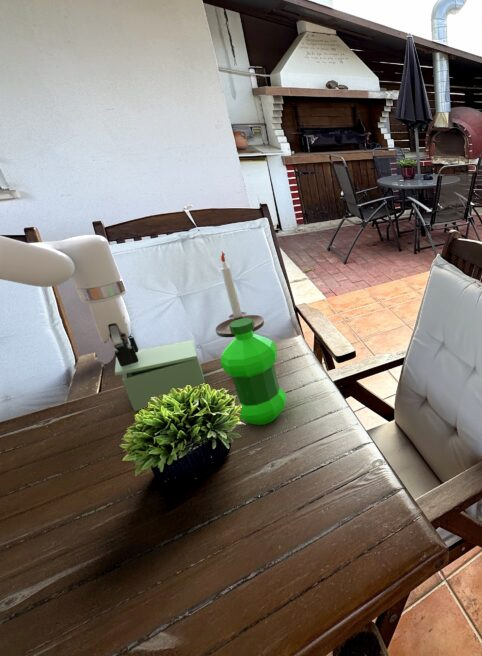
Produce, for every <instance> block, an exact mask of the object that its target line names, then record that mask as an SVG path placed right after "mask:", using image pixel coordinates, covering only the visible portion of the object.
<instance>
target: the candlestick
mask: <svg viewBox="0 0 482 656" xmlns="http://www.w3.org/2000/svg"><path fill="white" fill-rule="evenodd" d="M225 255H226V254H225V253H224V251H221V256H220V260H221V262H222V267H221V268H220V270H221V274H222V278H223V281H224V282H223V283H224V286H225V289H226V294H227V297H228V301H229V304H230V308H231V312H232V313H231V314H230V315H229V316H228V318H229V319H227V320H224V321H223V322H221V323H219V324H218V325H217V326H216V327H215V334H216V335H217V336H218V337H220V338H236V337H235V335H234V334H232V333H231V331H230V327H229V325H230V323H231V322H233V321H235V320H238V319H242V318H250V319H253V323H254V329H253V330H252V331H253V333H254V332H257V331H258V330H260V329H261V328H262V327H263V326H264V325H265V321H264V317H263V316H261V315H256V314H247V312H245V311H242V310H241V305H240V302H239V298H238V293H237V291H236V286H235V282H234V278H233V274H232V270H231V267H230V266H228V265H227V262H226V257H225Z"/></svg>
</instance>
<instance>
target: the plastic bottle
mask: <svg viewBox="0 0 482 656" xmlns="http://www.w3.org/2000/svg"><path fill="white" fill-rule="evenodd" d="M229 327H230V331H231V333H232V334H234V335H235V337H234V339H233V340H232V341H230V343H229V344H228V345H227V346H226V347H225V348H224V350H223V352H222V354H221V356H220V362H219V363H220V365H221V368H222V370H223V371H224V373H226V374H228V375H229V376H231V377H232V379H233V383H234V387H235V390H236V395H237V397H238V404H237V406H238V405H239V404H241V405H242V410H241V415H240V417H239V418H240V419H241V420H242V421H244V422H246V423H247V424H250V425H256V426H261V425H266V424H269V423H271V422H273V421H274V420H276V419H277V418H278V416H279V415H280V414H281V413H282V412H283V411H284V410H285V407H286V402H287V394H286V392H285V391H284V390H283V388H281V387H280V386H279V381H278V376H277V373H276V368H275V363H276V361H277V357H278V349H277V345H276V343H275V342H274V341H273V340H272V339H269V338H267V337H265V336H262V335H259V334H256V333H254V332H253V331H252V330H253V329H254V323H253V319H250V318H242V319H238V320H235V321H233V322H231V323H230V325H229Z"/></svg>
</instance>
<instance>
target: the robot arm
mask: <svg viewBox="0 0 482 656" xmlns="http://www.w3.org/2000/svg"><path fill="white" fill-rule="evenodd" d="M70 279H71V280H72V283H73V285H74V287H75V290H76V292H77V295H78V296H79V299H80V302H81V303H85V304H87V303H88V308H89V311H90V313H91V317H92V320H93V322H94V325H95V329H96V331H97V333H98V336H99V340H100V342H101V343H103V344H106V343H107V342H109V341H110V342H111V344H112V347H113V351H114V354H115V358H116V357H117V359H118V362H119V364H120V366H126V365H130V364H133V363H137V362H138V358H137V355H136V352H138V350H139V348H138V345H137V343H136V340H135V337H133V334H132V322H131V318H130V316H129V315H130V314H129V312H128V309H127V307H126V304H125V301H124V298H123V295H125V294H126V293H127V292H128V290H127V288H126V285H125V283H124V280H123V277H122V275H121V272H120V270H119V267H118V265H117V262H116V258H115V256H114V254H113V251H112V248H111V245H110V243H109V241H108V240H107V238H106V237H105V236H103V235H98V234H86V235H77V236H73V237H69V238H66V239H63V240H51V241H41V242H38V241H37V242H25V241H21V240H17V239H14V238H10V237H7V236H3V235H0V280H3V281H7V282H12V283H18V284H22V285H28V286H33V287H38V288H49V287H55V286H59V285H62V284H64V283H66V282H67V281H69V280H70ZM122 340H125V341H126V343H125V342H123V341H122ZM129 340H130V341H131V344H130V341H129Z"/></svg>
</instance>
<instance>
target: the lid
mask: <svg viewBox="0 0 482 656" xmlns="http://www.w3.org/2000/svg"><path fill="white" fill-rule="evenodd" d="M122 341H123V342H125V343H126V341H125V340H122ZM129 341H130V340H129ZM130 344H131V341H130ZM194 346H195V343H194V339H191V340H186V341H181V342H180V341H179V342H175V343H170V344H163V345H158V346H153V347H148V348H143V349H142V348H141V349H138V352H136V355H137V358H138V362H137V363H133V364H130V365H126V366H120V364H119V362H118V359H117V357H116V356H115V366H114V376H121V375H122V376H123V374H126V373H131V372H136V371H141V370H145V369H150V368H155V367H160V366H164V365H169V364H174V363H179V362H184V361H188V360H193V359H197V356H198V354H197V355H196V352H197V350H196V351H195V349H196V346H195V347H194Z"/></svg>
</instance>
